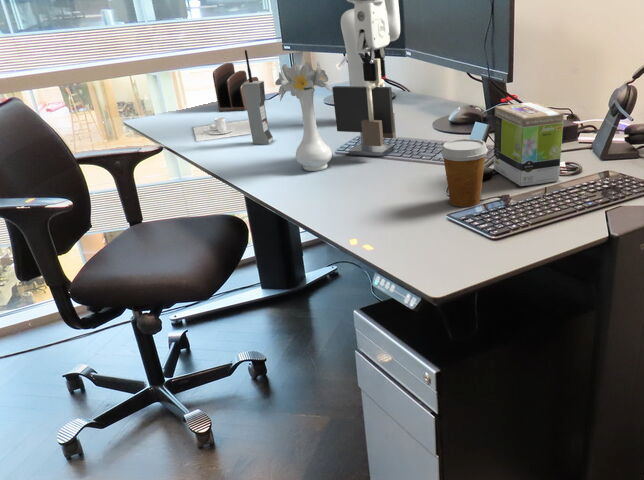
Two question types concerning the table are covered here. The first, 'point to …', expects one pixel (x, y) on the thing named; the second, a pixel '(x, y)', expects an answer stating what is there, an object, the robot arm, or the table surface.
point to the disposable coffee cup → (464, 170)
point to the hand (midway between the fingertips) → (374, 78)
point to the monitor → (363, 114)
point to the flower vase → (307, 112)
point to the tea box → (528, 143)
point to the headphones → (373, 127)
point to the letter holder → (230, 87)
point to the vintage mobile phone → (256, 109)
